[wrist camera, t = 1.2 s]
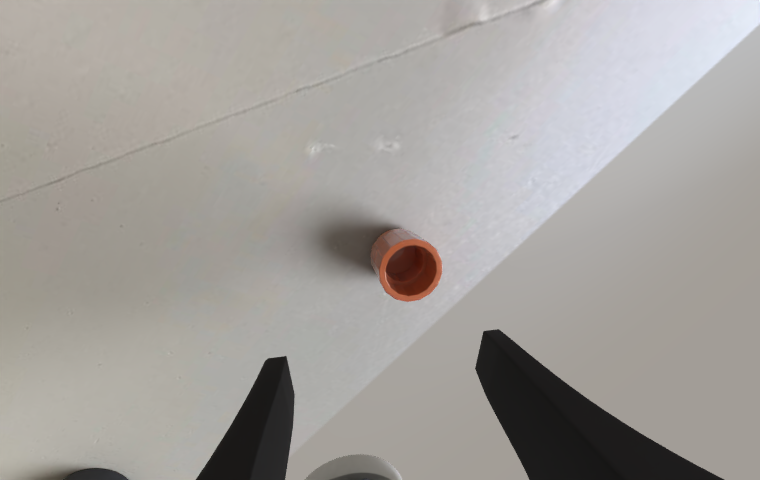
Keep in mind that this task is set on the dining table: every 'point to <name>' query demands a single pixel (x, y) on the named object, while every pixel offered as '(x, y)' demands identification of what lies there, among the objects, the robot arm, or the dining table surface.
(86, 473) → the push button
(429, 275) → the cup
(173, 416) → the dining table surface
